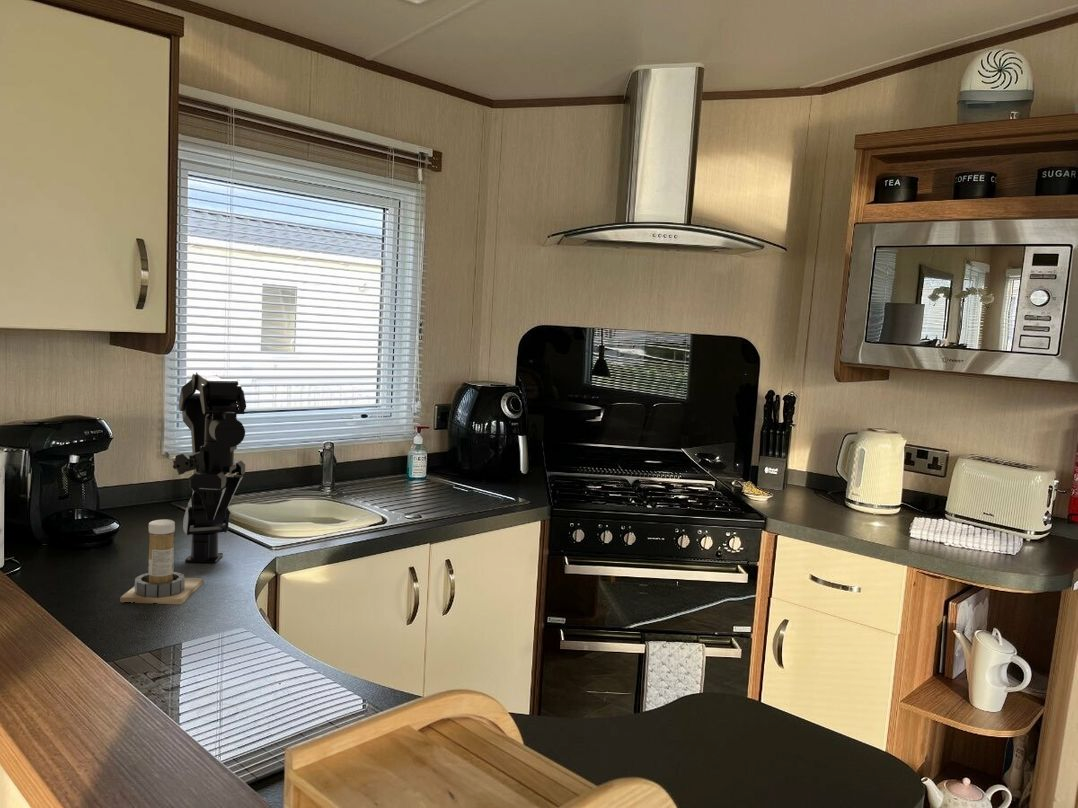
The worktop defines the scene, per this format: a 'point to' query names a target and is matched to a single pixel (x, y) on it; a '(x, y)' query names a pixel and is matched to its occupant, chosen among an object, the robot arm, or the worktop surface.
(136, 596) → the carrier plate
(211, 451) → the robot arm
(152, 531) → the sprinkles bottle
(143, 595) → the socket ring
